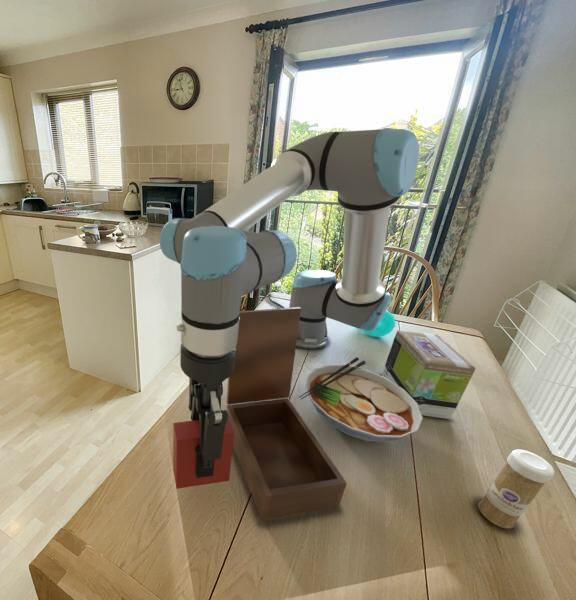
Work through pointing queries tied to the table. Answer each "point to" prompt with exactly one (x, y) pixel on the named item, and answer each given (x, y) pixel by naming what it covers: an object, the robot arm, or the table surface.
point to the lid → (264, 355)
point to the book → (186, 456)
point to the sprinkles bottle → (515, 488)
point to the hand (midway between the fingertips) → (201, 462)
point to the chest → (283, 460)
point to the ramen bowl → (362, 402)
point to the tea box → (428, 372)
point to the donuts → (383, 326)
